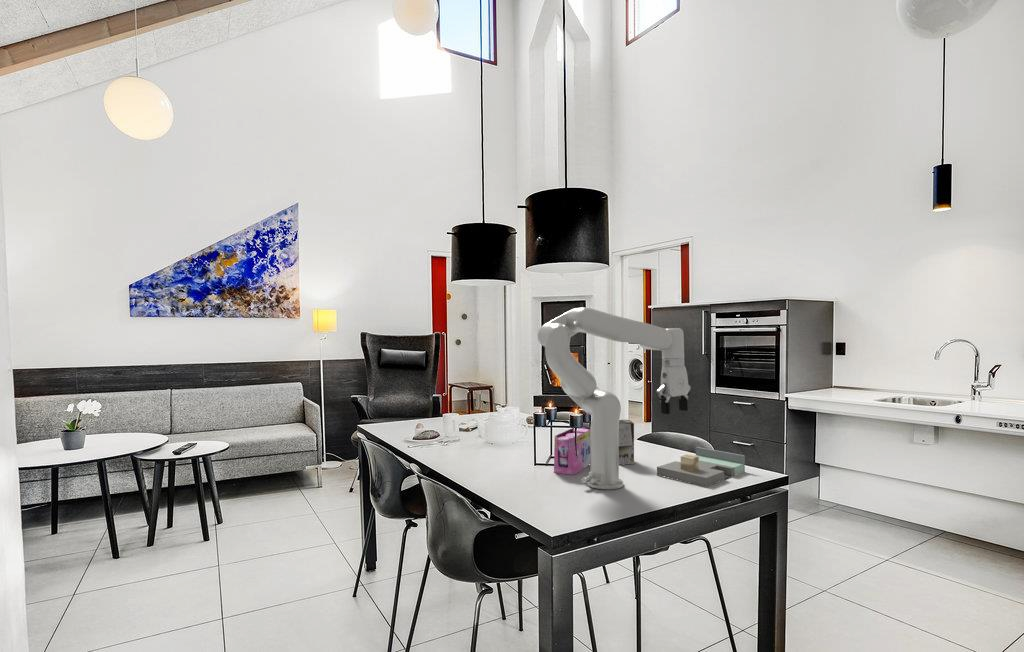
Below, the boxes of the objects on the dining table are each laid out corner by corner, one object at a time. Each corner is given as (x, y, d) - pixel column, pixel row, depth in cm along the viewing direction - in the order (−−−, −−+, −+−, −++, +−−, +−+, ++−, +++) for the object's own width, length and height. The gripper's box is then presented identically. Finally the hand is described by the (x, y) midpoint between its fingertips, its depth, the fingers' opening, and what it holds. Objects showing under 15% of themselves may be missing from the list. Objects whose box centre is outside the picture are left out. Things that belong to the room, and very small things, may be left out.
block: (692, 471, 185) (692, 458, 185) (680, 469, 188) (680, 456, 188) (698, 469, 188) (698, 456, 188) (687, 466, 191) (687, 454, 191)
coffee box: (634, 465, 206) (634, 423, 206) (618, 464, 206) (617, 423, 206) (630, 459, 215) (629, 419, 215) (614, 459, 215) (613, 419, 215)
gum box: (572, 476, 190) (571, 438, 190) (551, 473, 194) (551, 436, 194) (594, 461, 211) (594, 427, 211) (576, 459, 215) (576, 426, 215)
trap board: (706, 486, 177) (706, 468, 177) (656, 475, 191) (656, 458, 191) (744, 471, 196) (744, 455, 196) (696, 462, 210) (696, 446, 210)
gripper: (666, 365, 178) (667, 416, 178) (697, 362, 188) (699, 410, 188) (648, 364, 184) (649, 413, 185) (679, 361, 195) (681, 408, 195)
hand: (674, 412), depth 186 cm, fingers open, 9 cm apart
